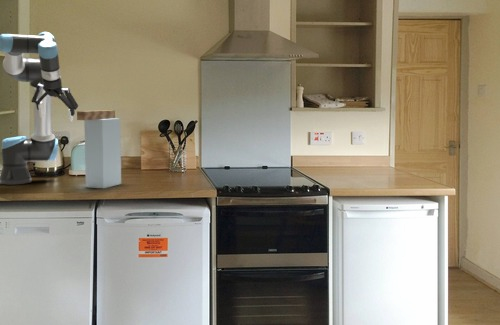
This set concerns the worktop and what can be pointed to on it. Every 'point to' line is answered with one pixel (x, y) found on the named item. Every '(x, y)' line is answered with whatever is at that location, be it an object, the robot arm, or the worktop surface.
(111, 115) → the rod
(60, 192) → the worktop surface
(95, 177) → the stand
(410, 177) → the worktop surface
